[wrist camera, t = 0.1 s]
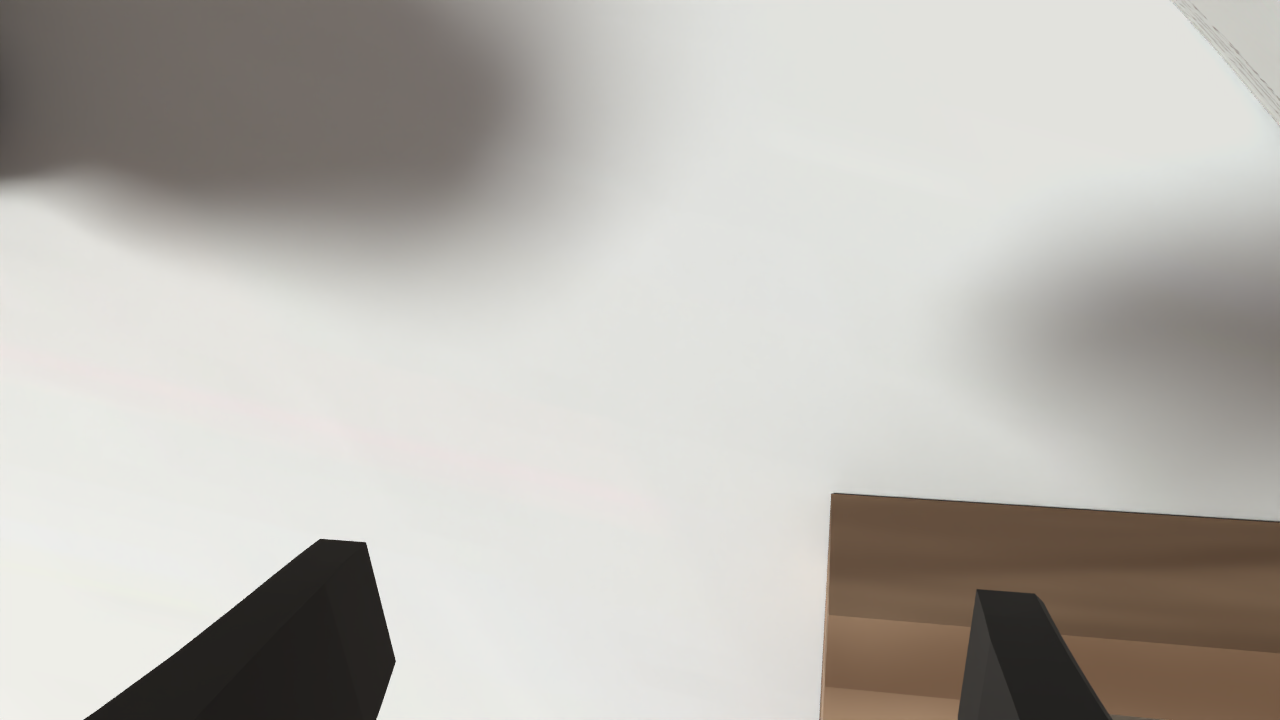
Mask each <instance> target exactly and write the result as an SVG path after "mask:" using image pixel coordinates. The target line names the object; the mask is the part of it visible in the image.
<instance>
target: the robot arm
mask: <svg viewBox="0 0 1280 720" xmlns="http://www.w3.org/2000/svg"><path fill="white" fill-rule="evenodd" d="M395 662H396V661H395V657H394V653H393V649H392V645H391V641H390V637H389V633H388V629H387V625H386V621H385V617H384V613H383V609H382V605H381V601H380V597H379V593H378V589H377V585H376V581H375V577H374V573H373V569H372V565H371V561H370V557H369V553H368V549H367V545H366V542H354V541H341V540H328V539H319V540H318V541H317V542H315V543H314V544H313V545H311V546H310V547H309V548H307V549H306V550H305V551H303V552H302V553H301V554H300V555H298V556H297V557H296V558H294V559H293V560H292V561H291V562H289V563H288V564H287V565H286V566H284V567H283V568H282V569H281V570H279V571H278V572H277V573H276V574H274V575H273V576H272V577H271V578H269V579H268V580H267V581H266V582H264V583H263V584H262V585H261V586H260V587H258V588H257V589H256V590H255V591H253V592H252V593H251V594H250V595H248V596H247V597H246V598H245V599H243V600H242V601H241V602H240V603H238V604H237V605H236V606H235V607H234V608H232V609H231V610H230V611H228V612H227V613H226V614H225V615H223V616H222V617H221V618H220V619H218V620H217V621H216V622H214V623H213V624H212V625H211V626H209V627H208V628H207V629H206V630H204V631H203V632H202V633H201V634H199V635H198V636H197V637H195V638H194V639H193V640H192V641H190V642H189V643H188V644H187V645H185V646H184V647H183V648H181V649H180V650H179V651H178V652H176V653H175V654H174V655H172V656H171V657H170V658H168V659H167V660H166V661H164V662H163V663H161V664H160V665H159V666H157V667H156V668H155V669H153V670H152V671H151V672H149V673H148V674H146V675H145V676H144V677H142V678H141V679H140V680H138V681H137V682H135V683H134V684H133V685H131V686H130V687H129V688H127V689H126V690H124V691H123V692H122V693H120V694H119V695H118V696H116V697H115V698H113V699H112V700H111V701H109V702H108V703H107V704H105V705H104V706H103V707H101V708H100V709H98V710H97V711H96V712H94V713H93V714H91V715H90V716H88V717H87V718H85V719H84V720H376V718H377V716H378V713H379V710H380V707H381V705H382V702H383V699H384V696H385V692H386V689H387V686H388V683H389V680H390V677H391V674H392V671H393V668H394V665H395ZM958 720H1113V719H1112V718H1111V716H1110V715H1109V713H1108V712H1107V710H1106V709H1105V707H1104V705H1103V704H1102V702H1101V701H1100V699H1099V698H1098V696H1097V694H1096V693H1095V691H1094V690H1093V688H1092V686H1091V685H1090V683H1089V681H1088V680H1087V678H1086V677H1085V675H1084V673H1083V672H1082V670H1081V668H1080V667H1079V665H1078V663H1077V662H1076V660H1075V658H1074V657H1073V655H1072V653H1071V651H1070V650H1069V648H1068V646H1067V645H1066V643H1065V641H1064V639H1063V637H1062V636H1061V634H1060V632H1059V630H1058V628H1057V627H1056V625H1055V623H1054V621H1053V619H1052V618H1051V616H1050V614H1049V612H1048V610H1047V608H1046V606H1045V604H1044V602H1043V601H1042V600H1041V599H1040V598H1039V597H1038V596H1037V595H1036V594H1035V593H1022V592H1009V591H996V590H983V589H976V596H975V603H974V609H973V616H972V623H971V630H970V636H969V643H968V650H967V657H966V663H965V670H964V677H963V684H962V690H961V697H960V704H959V711H958Z"/></svg>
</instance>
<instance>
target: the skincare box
mask: <svg viewBox="0 0 1280 720" xmlns="http://www.w3.org/2000/svg"><path fill="white" fill-rule="evenodd" d="M1171 1H1172V2H1173V4H1174V5H1175V6H1176V7H1177V8H1178V9H1179V10H1180V11H1181V12H1182V14H1183V15H1184V16H1185V17H1186V18H1187V19H1188V20H1189V21H1190V22H1191V24H1192V25H1193V26H1194V27H1195V28H1196V29H1197V30H1198V31H1199V32H1200V34H1201V35H1202V36H1203V37H1204V38H1205V39H1206V40H1207V41H1208V42H1209V44H1210V45H1211V46H1212V47H1213V48H1214V49H1215V50H1216V51H1217V52H1218V54H1219V55H1220V56H1221V57H1222V58H1223V59H1224V60H1225V62H1226V63H1227V64H1228V65H1229V66H1230V68H1231V69H1232V70H1233V71H1234V72H1235V73H1236V75H1237V76H1238V77H1239V78H1240V79H1241V81H1242V82H1243V83H1244V84H1245V85H1246V87H1247V88H1248V89H1249V90H1250V91H1251V93H1252V94H1253V95H1254V96H1255V97H1256V98H1257V100H1258V101H1259V102H1260V103H1261V104H1262V105H1263V107H1264V108H1265V109H1266V110H1267V111H1268V112H1269V114H1270V115H1271V116H1272V117H1273V118H1274V119H1275V121H1276V122H1277V123H1278V125H1279V126H1280V0H1171Z"/></svg>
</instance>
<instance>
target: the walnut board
mask: <svg viewBox="0 0 1280 720" xmlns="http://www.w3.org/2000/svg"><path fill="white" fill-rule="evenodd" d="M976 589H983V590H996V591H1009V592H1022V593H1035V594H1036V595H1037V596H1038V597H1039V598H1040V599H1041V600H1042V601H1043V602H1044V604H1045V606H1046V608H1047V610H1048V612H1049V614H1050V616H1051V618H1052V619H1053V621H1054V623H1055V625H1056V627H1057V628H1058V630H1059V632H1060V634H1061V636H1062V637H1063V639H1064V641H1065V643H1066V645H1067V646H1068V648H1069V650H1070V651H1071V653H1072V655H1073V657H1074V658H1075V660H1076V662H1077V663H1078V665H1079V667H1080V668H1081V670H1082V672H1083V673H1084V675H1085V677H1086V678H1087V680H1088V681H1089V683H1090V685H1091V686H1092V688H1093V690H1094V691H1095V693H1096V694H1097V696H1098V698H1099V699H1100V701H1101V702H1102V704H1103V705H1104V707H1105V709H1106V710H1107V712H1108V713H1109V714H1110V715H1121V716H1131V717H1141V718H1151V719H1162V720H1280V523H1277V522H1262V521H1246V520H1231V519H1215V518H1200V517H1184V516H1169V515H1153V514H1138V513H1122V512H1107V511H1091V510H1076V509H1060V508H1045V507H1029V506H1014V505H998V504H983V503H967V502H952V501H936V500H921V499H905V498H890V497H874V496H859V495H843V494H831V510H830V529H829V548H828V567H827V585H826V604H825V623H824V642H823V661H822V680H821V699H820V718H819V720H958V711H959V704H960V697H961V690H962V684H963V677H964V670H965V663H966V657H967V650H968V643H969V636H970V630H971V623H972V616H973V609H974V603H975V596H976Z"/></svg>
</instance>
